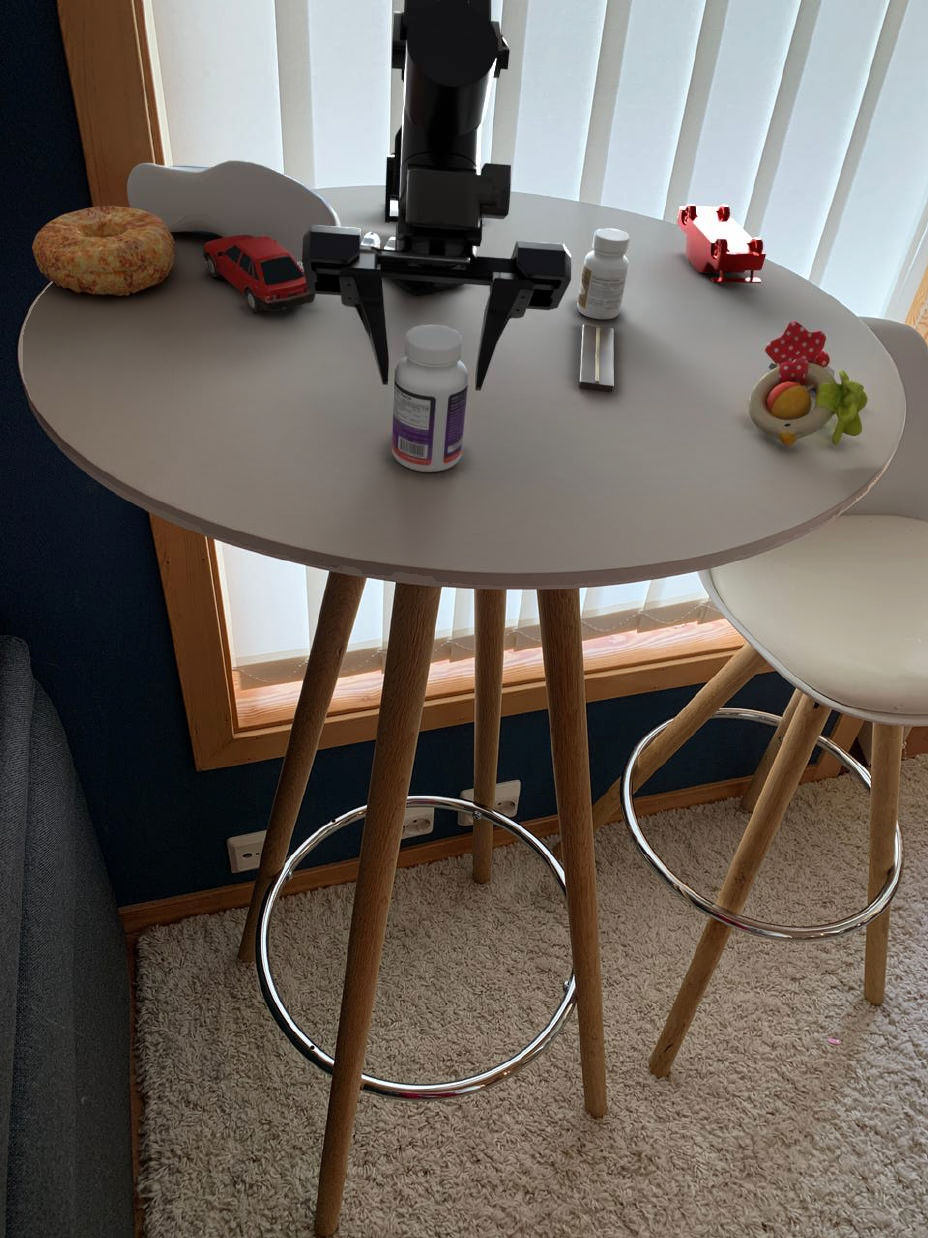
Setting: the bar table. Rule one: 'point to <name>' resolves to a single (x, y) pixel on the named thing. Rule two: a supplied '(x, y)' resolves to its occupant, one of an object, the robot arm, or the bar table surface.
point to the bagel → (105, 250)
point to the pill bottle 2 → (604, 275)
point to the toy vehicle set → (377, 241)
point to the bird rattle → (804, 390)
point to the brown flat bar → (597, 358)
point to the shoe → (230, 201)
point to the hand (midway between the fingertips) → (432, 386)
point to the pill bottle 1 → (429, 400)
